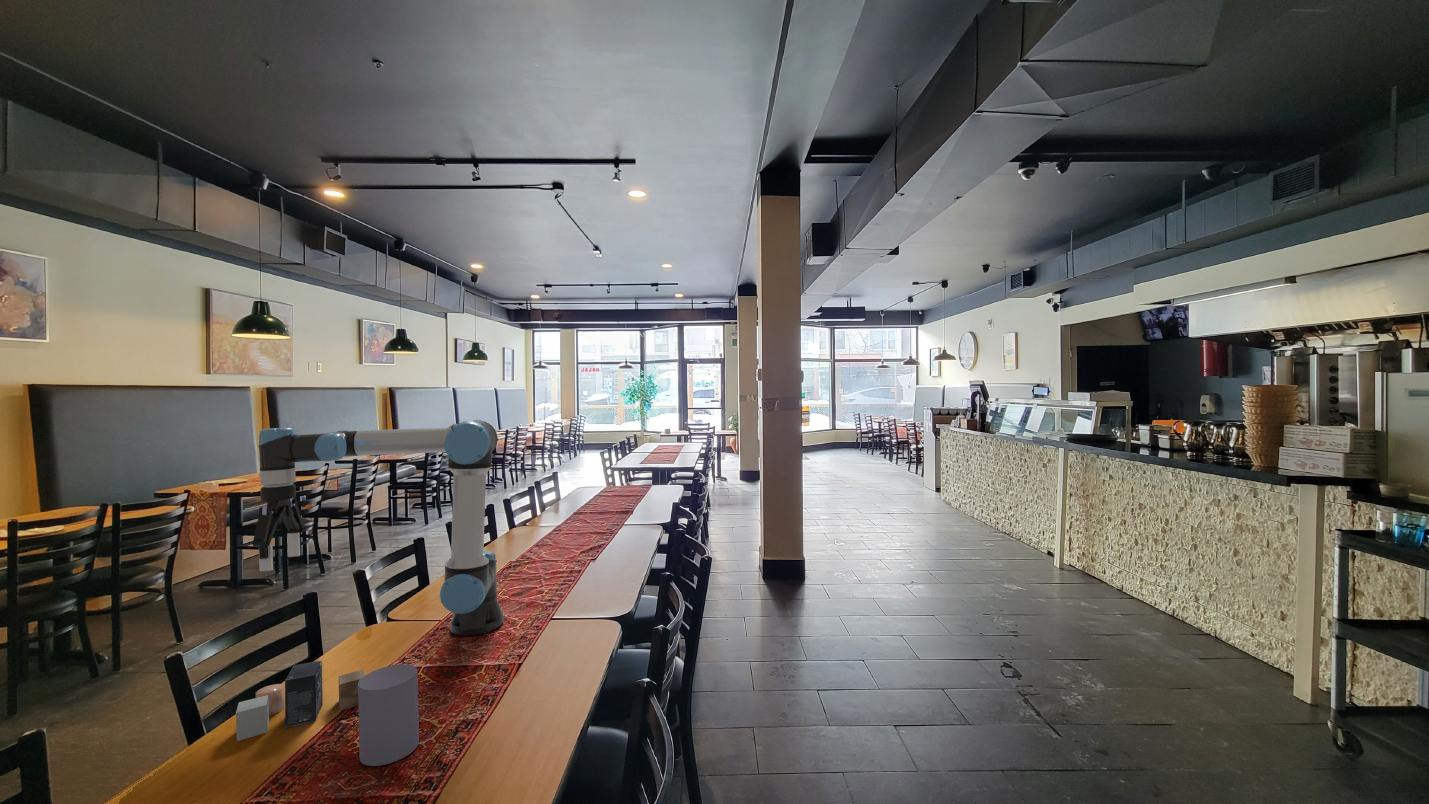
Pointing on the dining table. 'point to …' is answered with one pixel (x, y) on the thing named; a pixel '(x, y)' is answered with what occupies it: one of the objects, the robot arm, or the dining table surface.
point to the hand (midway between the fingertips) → (280, 563)
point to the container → (388, 714)
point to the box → (303, 693)
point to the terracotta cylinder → (273, 697)
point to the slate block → (252, 717)
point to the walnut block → (349, 689)
